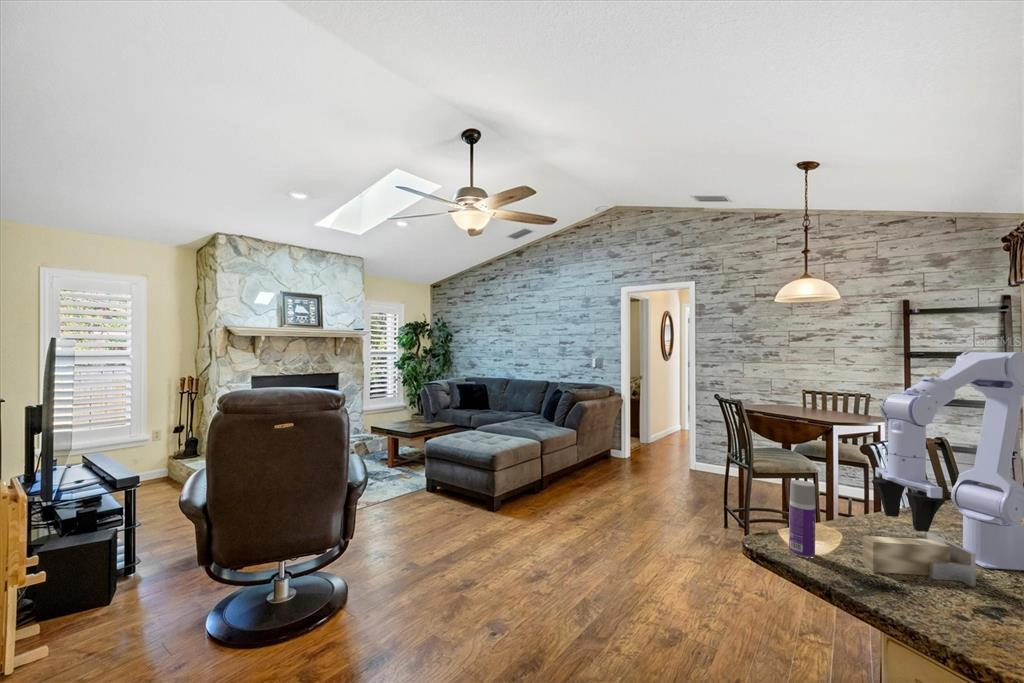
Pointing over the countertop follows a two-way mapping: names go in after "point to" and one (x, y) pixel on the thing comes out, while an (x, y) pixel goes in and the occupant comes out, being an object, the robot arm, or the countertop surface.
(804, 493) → the container
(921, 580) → the countertop surface
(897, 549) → the rail
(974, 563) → the bracket
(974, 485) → the robot arm
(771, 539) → the countertop surface
